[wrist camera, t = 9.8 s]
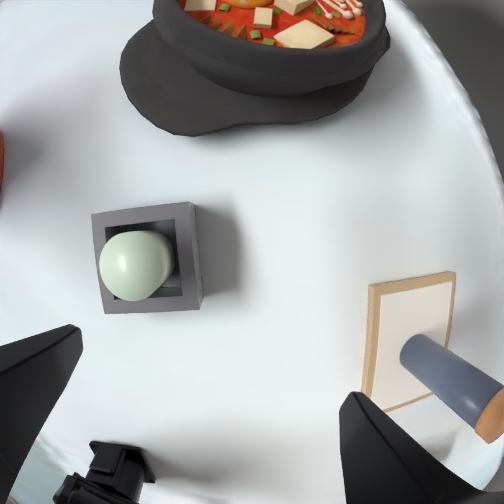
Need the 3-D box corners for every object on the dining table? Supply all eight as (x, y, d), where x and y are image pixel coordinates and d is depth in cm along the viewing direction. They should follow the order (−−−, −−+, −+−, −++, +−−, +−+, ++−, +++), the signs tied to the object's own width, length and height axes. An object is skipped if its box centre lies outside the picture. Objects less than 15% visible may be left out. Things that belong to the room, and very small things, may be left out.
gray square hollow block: (203, 297, 21) (199, 309, 18) (119, 302, 21) (104, 313, 18) (194, 204, 20) (188, 201, 17) (108, 214, 20) (91, 214, 17)
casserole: (308, -35, 18) (326, -81, 10) (415, 78, 21) (465, 46, 12) (98, 47, 18) (63, -2, 10) (193, 199, 20) (171, 186, 12)
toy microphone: (418, 370, 23) (500, 439, 10) (392, 366, 22) (478, 447, 9) (434, 336, 22) (528, 393, 9) (409, 329, 22) (511, 396, 9)
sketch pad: (431, 388, 25) (437, 393, 23) (357, 414, 24) (362, 421, 23) (449, 271, 23) (457, 273, 22) (368, 285, 22) (375, 288, 21)
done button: (178, 284, 19) (166, 299, 15) (126, 287, 19) (105, 302, 15) (172, 227, 19) (158, 228, 15) (119, 232, 19) (95, 236, 15)
